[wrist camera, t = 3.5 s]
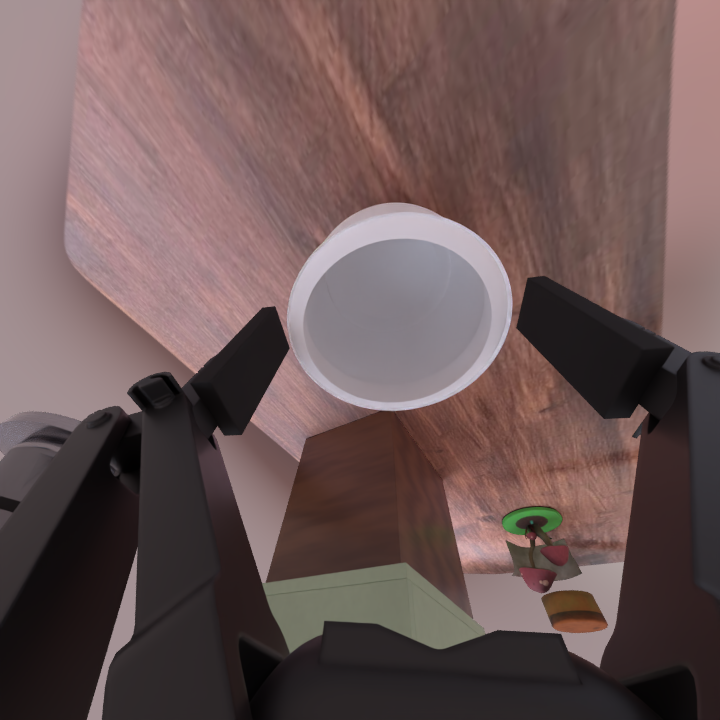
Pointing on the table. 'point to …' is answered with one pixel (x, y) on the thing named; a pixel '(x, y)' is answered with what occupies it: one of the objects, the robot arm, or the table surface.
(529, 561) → the toy figurine
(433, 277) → the jar
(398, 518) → the stand
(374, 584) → the tray
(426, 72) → the table surface
